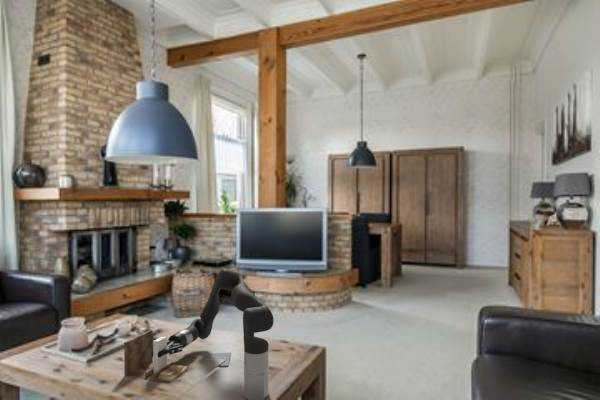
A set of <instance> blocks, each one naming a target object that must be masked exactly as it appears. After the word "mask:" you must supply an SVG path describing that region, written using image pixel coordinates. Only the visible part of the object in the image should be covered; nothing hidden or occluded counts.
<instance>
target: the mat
mask: <svg viewBox="0 0 600 400" xmlns="http://www.w3.org/2000/svg"><path fill="white" fill-rule="evenodd" d="M231 355H232V354H231V352H218V353H217V352H216V353H200V355H199V356H200V357H203V358H204V357H205V358H212V359H218V360H224V361H222V362H221V363H220V364H218V365H217V366H216V368H229V364H230V359H231Z"/></svg>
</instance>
